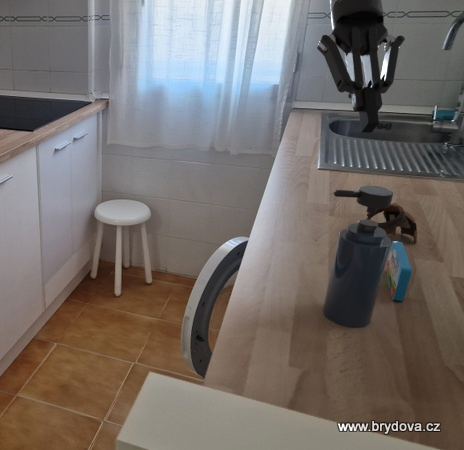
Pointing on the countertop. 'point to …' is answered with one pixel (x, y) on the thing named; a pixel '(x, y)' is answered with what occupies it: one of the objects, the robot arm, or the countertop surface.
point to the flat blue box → (398, 271)
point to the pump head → (369, 197)
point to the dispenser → (356, 274)
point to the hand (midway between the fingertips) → (370, 127)
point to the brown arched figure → (397, 221)
